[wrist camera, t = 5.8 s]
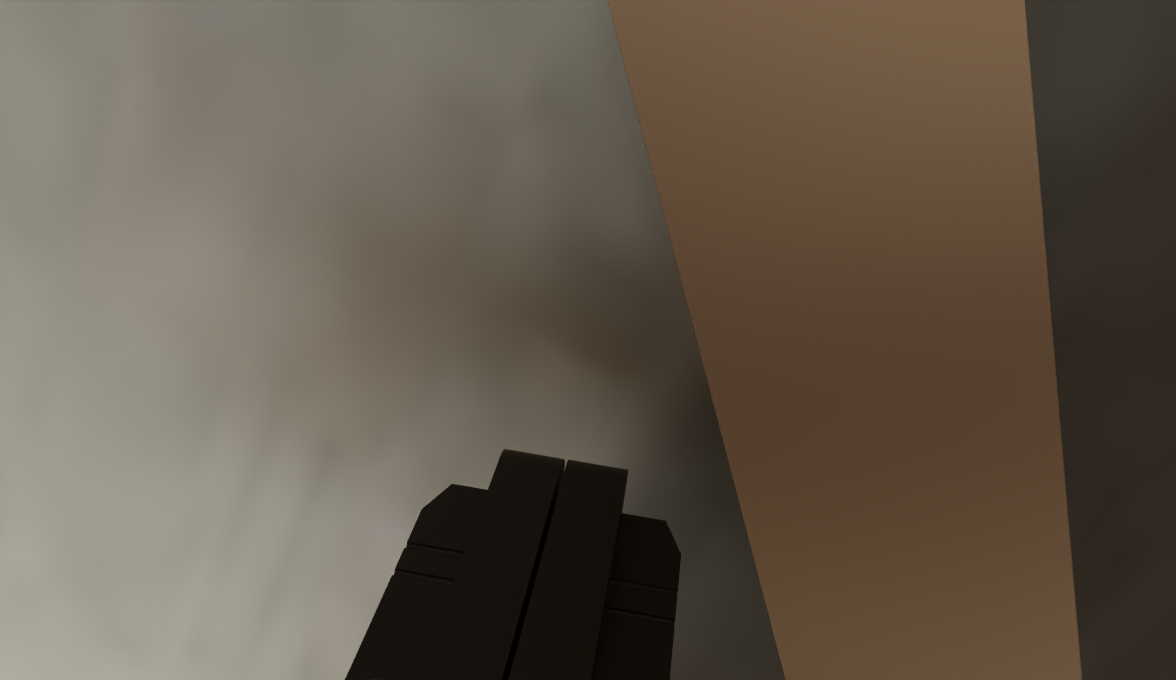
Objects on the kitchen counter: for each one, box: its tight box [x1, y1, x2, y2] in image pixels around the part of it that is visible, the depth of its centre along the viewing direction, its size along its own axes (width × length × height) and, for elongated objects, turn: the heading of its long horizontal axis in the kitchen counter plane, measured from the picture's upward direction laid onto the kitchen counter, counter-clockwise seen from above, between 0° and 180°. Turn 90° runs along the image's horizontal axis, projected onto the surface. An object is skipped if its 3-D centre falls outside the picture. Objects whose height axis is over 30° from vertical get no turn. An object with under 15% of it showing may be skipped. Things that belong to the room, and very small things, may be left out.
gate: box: [608, 0, 1082, 680], centre depth 9 cm, size 16×2×6 cm, turn 16°
